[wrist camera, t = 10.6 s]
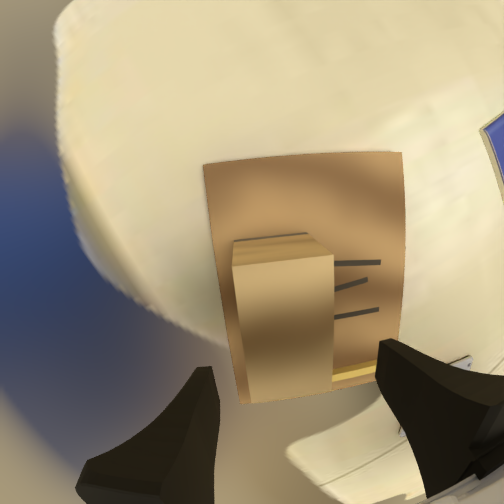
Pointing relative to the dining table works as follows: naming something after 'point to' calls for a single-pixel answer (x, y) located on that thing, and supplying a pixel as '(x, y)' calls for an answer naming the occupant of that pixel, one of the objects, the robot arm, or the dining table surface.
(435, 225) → the dining table surface
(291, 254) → the block
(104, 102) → the dining table surface
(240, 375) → the board
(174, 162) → the dining table surface
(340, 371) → the pencil
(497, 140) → the hard drive
